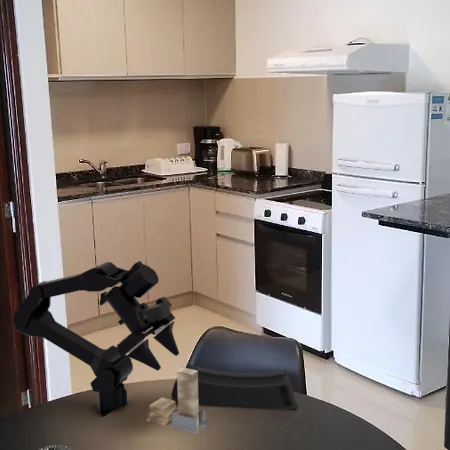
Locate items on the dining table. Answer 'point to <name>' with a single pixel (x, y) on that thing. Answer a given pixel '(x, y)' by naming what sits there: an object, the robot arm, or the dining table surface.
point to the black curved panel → (242, 389)
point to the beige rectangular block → (188, 392)
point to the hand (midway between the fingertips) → (168, 361)
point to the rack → (189, 422)
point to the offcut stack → (162, 411)
